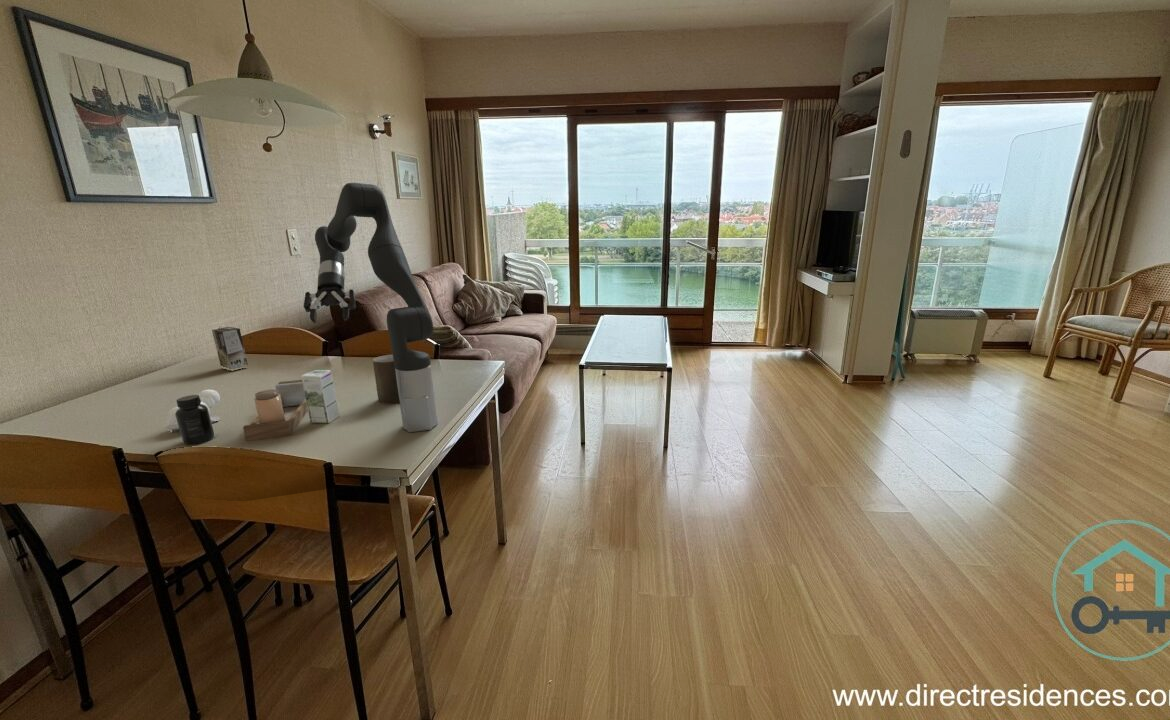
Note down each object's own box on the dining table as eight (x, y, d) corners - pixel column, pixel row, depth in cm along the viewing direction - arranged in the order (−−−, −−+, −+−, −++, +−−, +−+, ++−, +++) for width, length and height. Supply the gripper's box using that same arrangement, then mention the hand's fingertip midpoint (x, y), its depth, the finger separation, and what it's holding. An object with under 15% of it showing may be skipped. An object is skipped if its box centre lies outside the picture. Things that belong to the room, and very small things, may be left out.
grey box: (307, 404, 155) (303, 383, 153) (279, 407, 153) (275, 385, 151) (312, 397, 161) (308, 376, 159) (285, 399, 159) (281, 379, 157)
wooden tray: (290, 435, 133) (286, 414, 131) (246, 440, 130) (241, 419, 129) (318, 395, 163) (315, 378, 161) (283, 399, 160) (279, 381, 159)
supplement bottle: (220, 433, 135) (210, 392, 132) (203, 445, 129) (191, 402, 125) (195, 434, 135) (184, 393, 132) (176, 446, 128) (164, 403, 125)
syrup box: (340, 416, 146) (332, 369, 141) (328, 424, 140) (319, 375, 136) (322, 415, 146) (313, 369, 142) (309, 423, 140) (300, 375, 136)
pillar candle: (405, 403, 154) (399, 357, 150) (373, 404, 154) (367, 358, 150) (414, 393, 163) (408, 349, 159) (384, 394, 163) (378, 350, 159)
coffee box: (249, 367, 196) (240, 328, 192) (231, 372, 191) (221, 331, 187) (238, 364, 201) (229, 326, 197) (220, 368, 196) (211, 329, 191)
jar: (283, 433, 134) (275, 395, 131) (258, 436, 133) (249, 397, 130) (289, 425, 140) (282, 388, 137) (266, 428, 138) (257, 390, 135)
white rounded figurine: (198, 442, 138) (235, 405, 149) (181, 420, 132) (220, 384, 144) (172, 440, 139) (211, 404, 151) (154, 419, 134) (195, 383, 145)
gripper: (302, 271, 152) (299, 315, 145) (352, 269, 156) (352, 311, 148) (310, 286, 159) (307, 329, 151) (358, 284, 162) (357, 325, 155)
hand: (329, 320), depth 150 cm, fingers open, 8 cm apart
